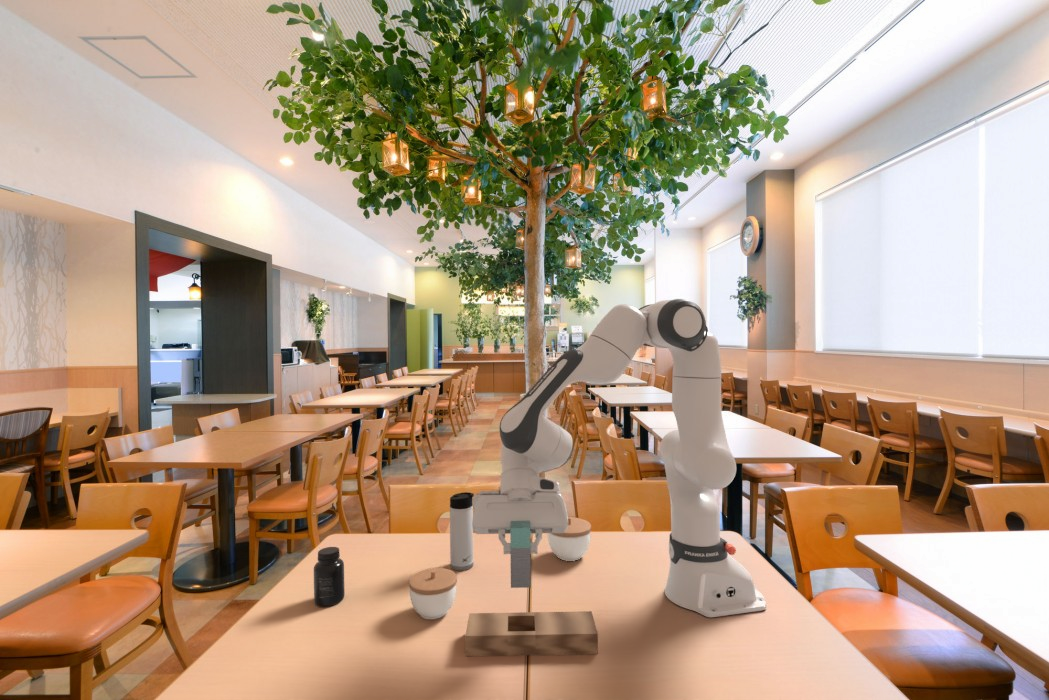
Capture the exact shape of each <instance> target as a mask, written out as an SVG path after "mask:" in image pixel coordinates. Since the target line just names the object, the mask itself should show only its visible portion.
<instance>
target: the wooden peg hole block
mask: <svg viewBox="0 0 1049 700" xmlns="http://www.w3.org/2000/svg"><path fill="white" fill-rule="evenodd" d="M598 635H599V634H598V629H597V626H596V623H595V619H594V614H593V611H591V610H589V611H586V610H585V611H579V610H578V611H539V612H538V611H535V612H534V611H533V612H532V611H530V612H529V611H527V612H525V611H524V612H522V611H521V612H474V613H472V612H471V613H468V619H467V624H466V630H465V637H464V641H465V657H488V656H489V657H493V656H494V657H499V656H503V657H504V656H545V655H546V656H547V655H549V656H550V655H551V656H552V655H556V656H557V655H598V654H599V644H598V643H599V642H598V641H599V636H598Z"/></svg>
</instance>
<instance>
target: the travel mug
mask: <svg viewBox="0 0 1049 700" xmlns="http://www.w3.org/2000/svg"><path fill="white" fill-rule="evenodd" d="M474 495H475V493H474V492H467V491H465V492H459V493H455V494H453V495H452V496H450V498H449V545H450V546H449V547H450V550H449V551H450V555H449V556H450V562H449V563H450V567H451V568H452V570H454V571H458V572H459V571H460V572H461V571H467V570H469V569H471V568H472V567H473V566H474V530H473V527H472V520H473V513H474V508H473V506H472V502H473V497H474Z"/></svg>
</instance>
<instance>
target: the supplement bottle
mask: <svg viewBox="0 0 1049 700" xmlns="http://www.w3.org/2000/svg"><path fill="white" fill-rule="evenodd" d="M340 555H341V554H340V548H339V547H337V546H328V547H324V548H322V549H319V550H318V551H317V562H316V563H315V564H314V566H313V601H314V604H315V605H316V606H318V607H320V608H321V607H323V608H325V607H326V608H327V607H332V606H335V605H337V604H339V603H341V602H343V600H344V598H345V596H346V595H345V591H346V590H345V563H344V560H343V559H342V558H340Z"/></svg>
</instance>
